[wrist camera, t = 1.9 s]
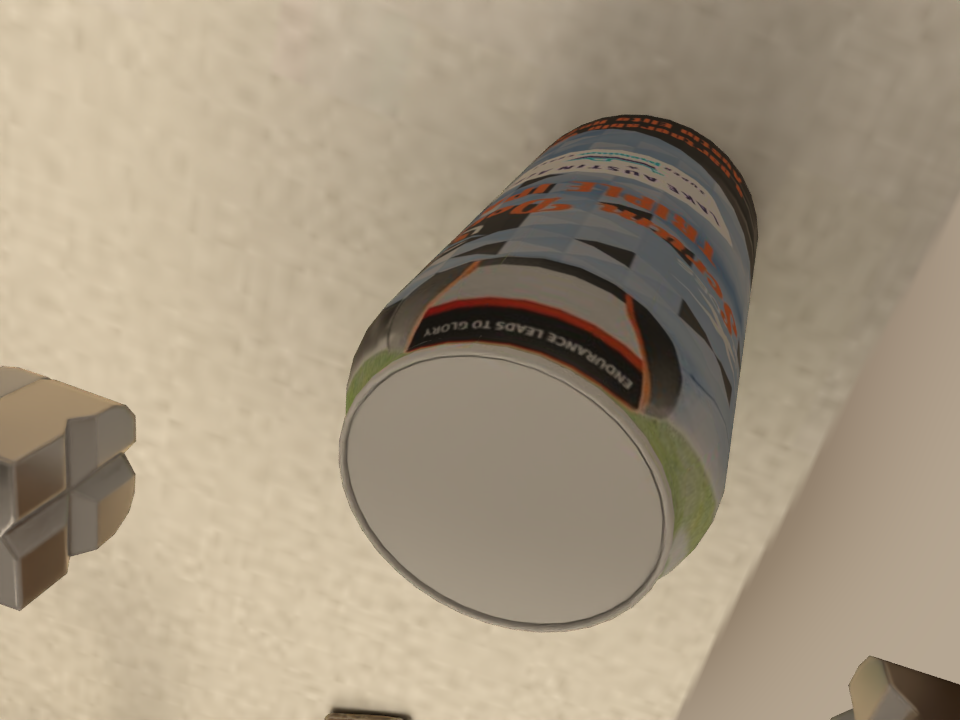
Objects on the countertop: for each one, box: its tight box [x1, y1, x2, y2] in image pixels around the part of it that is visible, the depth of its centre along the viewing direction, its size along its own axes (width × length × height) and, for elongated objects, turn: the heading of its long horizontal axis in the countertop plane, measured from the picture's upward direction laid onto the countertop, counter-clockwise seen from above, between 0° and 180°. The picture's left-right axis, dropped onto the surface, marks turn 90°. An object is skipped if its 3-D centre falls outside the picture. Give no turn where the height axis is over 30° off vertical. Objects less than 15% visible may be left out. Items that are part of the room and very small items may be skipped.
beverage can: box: [339, 115, 758, 632], centre depth 16 cm, size 6×7×12 cm
